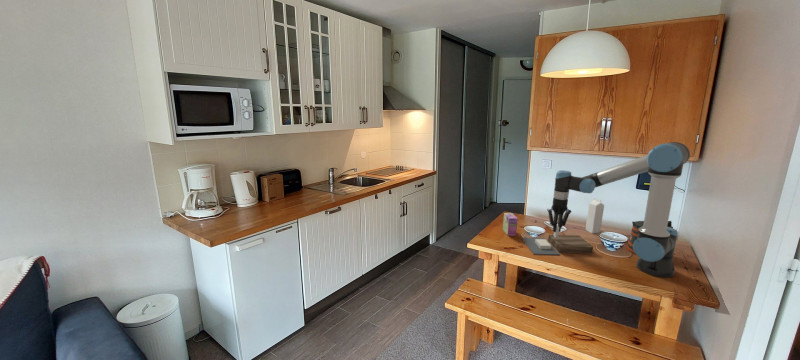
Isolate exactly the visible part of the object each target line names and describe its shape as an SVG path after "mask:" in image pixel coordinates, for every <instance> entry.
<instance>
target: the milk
mask: <svg viewBox="0 0 800 360" xmlns="http://www.w3.org/2000/svg"><path fill="white" fill-rule="evenodd" d="M604 210H605V204H603V203H602V199H598V198H596V197H594V198H593V200H592V201H590V202H589V204H588V209H587V216H586V225H585V231H587V232H589V233H590V234H601V228H602V222H603V216H604Z"/></svg>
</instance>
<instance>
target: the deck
mask: <svg viewBox="0 0 800 360" xmlns="http://www.w3.org/2000/svg"><path fill="white" fill-rule="evenodd" d="M547 239H548V240H547V241H548V242H549V243H550V244H551V245H552V246H553V248H554V249H555V250H556V251H557V252H558V253H559V254H561V253H562V254H588V255H589V254H593V250H594V246H593V245H591V243H590V242H588V241H587V240H586V239H584V238H583V237H582V236H581V235H579V234H578V235H572V234H570V235H569V234H566V235H565V234H559V235H558V238H555V237H554V234H548V238H547Z"/></svg>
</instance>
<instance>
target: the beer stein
mask: <svg viewBox="0 0 800 360" xmlns="http://www.w3.org/2000/svg"><path fill="white" fill-rule="evenodd" d="M631 224H632V228H631V231H630V236H629V237H630V238H629V239H628V241H627V245H626V249H627V250H628V251H629V252H630V253H633V254H635V252H634V250H633V243H634V241H635V240H636V239H637V236H638V230H639V228H640V227H642V226H643V224H644V220H638V221H637V220H636V221H632V223H631ZM672 225H673V222H672V220H668V225H667V227H670V228H673V229H674V227H673V226H672Z"/></svg>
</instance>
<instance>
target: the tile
mask: <svg viewBox="0 0 800 360" xmlns="http://www.w3.org/2000/svg"><path fill="white" fill-rule="evenodd" d="M547 241H548V240H547V239H546V238H545V239H535V243H536V244H537V245H538V247H539V248H540V249H551V245H550V244H549V243H550V242H549V241H548V242H549V243H548V242H547Z"/></svg>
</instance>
